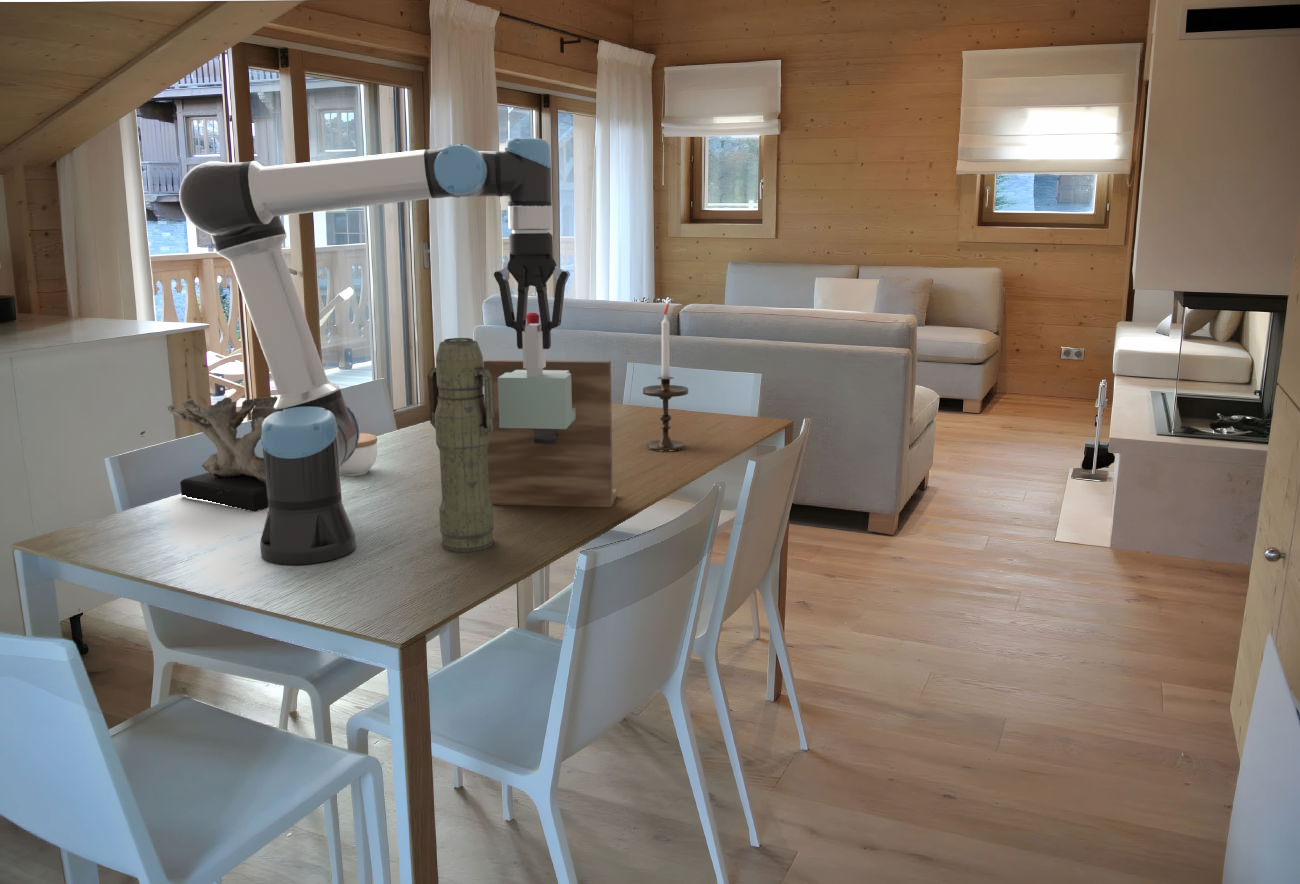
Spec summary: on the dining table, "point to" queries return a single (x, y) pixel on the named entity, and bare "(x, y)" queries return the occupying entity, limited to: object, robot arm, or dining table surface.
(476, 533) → the thermos
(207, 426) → the coral
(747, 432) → the dining table surface
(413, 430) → the dining table surface
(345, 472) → the lidded jar
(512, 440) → the wall board
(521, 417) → the pale green block
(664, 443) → the candlestick
